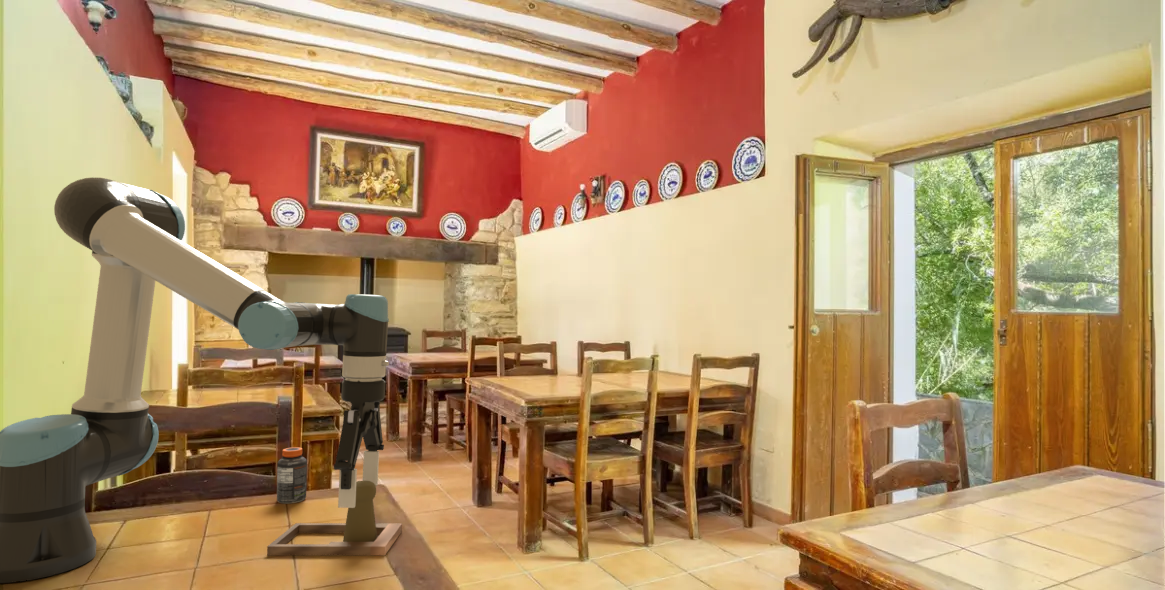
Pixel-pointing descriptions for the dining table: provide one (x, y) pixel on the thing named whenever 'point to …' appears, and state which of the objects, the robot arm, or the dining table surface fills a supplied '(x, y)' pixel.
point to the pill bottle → (291, 476)
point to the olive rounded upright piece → (362, 515)
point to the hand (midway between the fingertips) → (359, 495)
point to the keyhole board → (378, 547)
